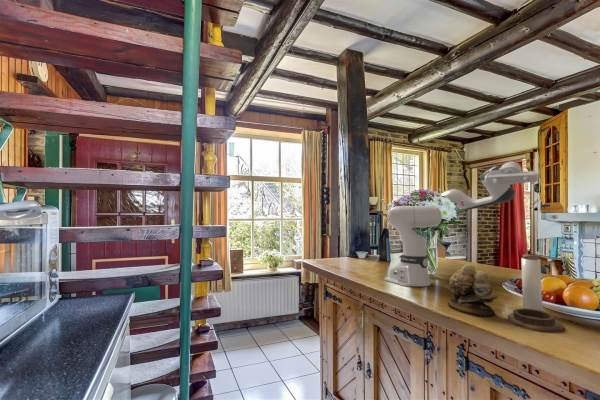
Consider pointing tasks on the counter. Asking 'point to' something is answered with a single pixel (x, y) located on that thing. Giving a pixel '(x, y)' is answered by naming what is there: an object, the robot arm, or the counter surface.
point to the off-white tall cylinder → (531, 282)
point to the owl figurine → (471, 292)
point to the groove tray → (537, 328)
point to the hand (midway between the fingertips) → (509, 182)
